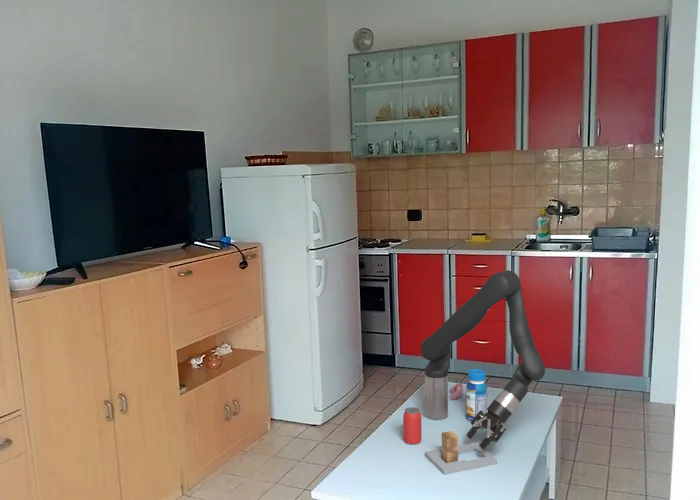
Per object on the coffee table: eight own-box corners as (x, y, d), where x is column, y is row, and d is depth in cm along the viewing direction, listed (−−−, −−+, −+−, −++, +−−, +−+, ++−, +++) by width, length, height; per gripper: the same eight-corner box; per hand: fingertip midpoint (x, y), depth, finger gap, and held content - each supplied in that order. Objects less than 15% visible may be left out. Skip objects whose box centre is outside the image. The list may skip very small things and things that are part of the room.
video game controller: (458, 404, 252) (465, 390, 251) (448, 399, 252) (456, 385, 251) (457, 395, 262) (464, 382, 260) (448, 391, 262) (455, 377, 261)
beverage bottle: (486, 425, 226) (486, 375, 224) (464, 422, 229) (464, 373, 226) (488, 417, 234) (488, 369, 231) (467, 414, 237) (467, 367, 234)
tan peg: (452, 458, 200) (452, 430, 199) (457, 463, 196) (457, 435, 195) (441, 460, 199) (441, 432, 198) (447, 465, 195) (447, 437, 194)
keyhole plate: (474, 446, 208) (474, 442, 208) (496, 463, 195) (496, 459, 195) (424, 456, 202) (424, 451, 202) (443, 474, 189) (443, 470, 189)
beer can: (423, 439, 215) (423, 408, 214) (418, 446, 209) (418, 414, 208) (407, 436, 218) (406, 405, 217) (401, 443, 212) (400, 412, 211)
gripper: (485, 392, 208) (457, 428, 205) (508, 407, 194) (478, 445, 192) (498, 404, 210) (470, 440, 208) (522, 419, 197) (492, 457, 194)
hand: (474, 442), depth 200 cm, fingers open, 8 cm apart
